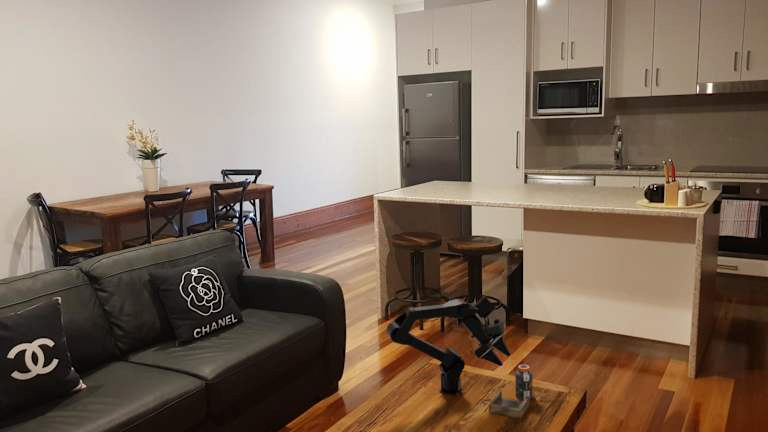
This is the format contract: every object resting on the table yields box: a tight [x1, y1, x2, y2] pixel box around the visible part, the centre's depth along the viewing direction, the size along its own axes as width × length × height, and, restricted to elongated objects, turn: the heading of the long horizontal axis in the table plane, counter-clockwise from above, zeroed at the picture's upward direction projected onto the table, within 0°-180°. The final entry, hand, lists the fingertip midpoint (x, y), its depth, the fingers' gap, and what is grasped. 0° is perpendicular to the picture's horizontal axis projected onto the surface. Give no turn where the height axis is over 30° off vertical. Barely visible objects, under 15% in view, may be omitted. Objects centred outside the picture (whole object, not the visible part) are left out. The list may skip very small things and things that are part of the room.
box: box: [488, 390, 531, 420], centre depth 205 cm, size 11×11×3 cm
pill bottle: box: [515, 364, 534, 400], centre depth 212 cm, size 6×6×11 cm
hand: (505, 360), depth 215 cm, fingers open, 9 cm apart
